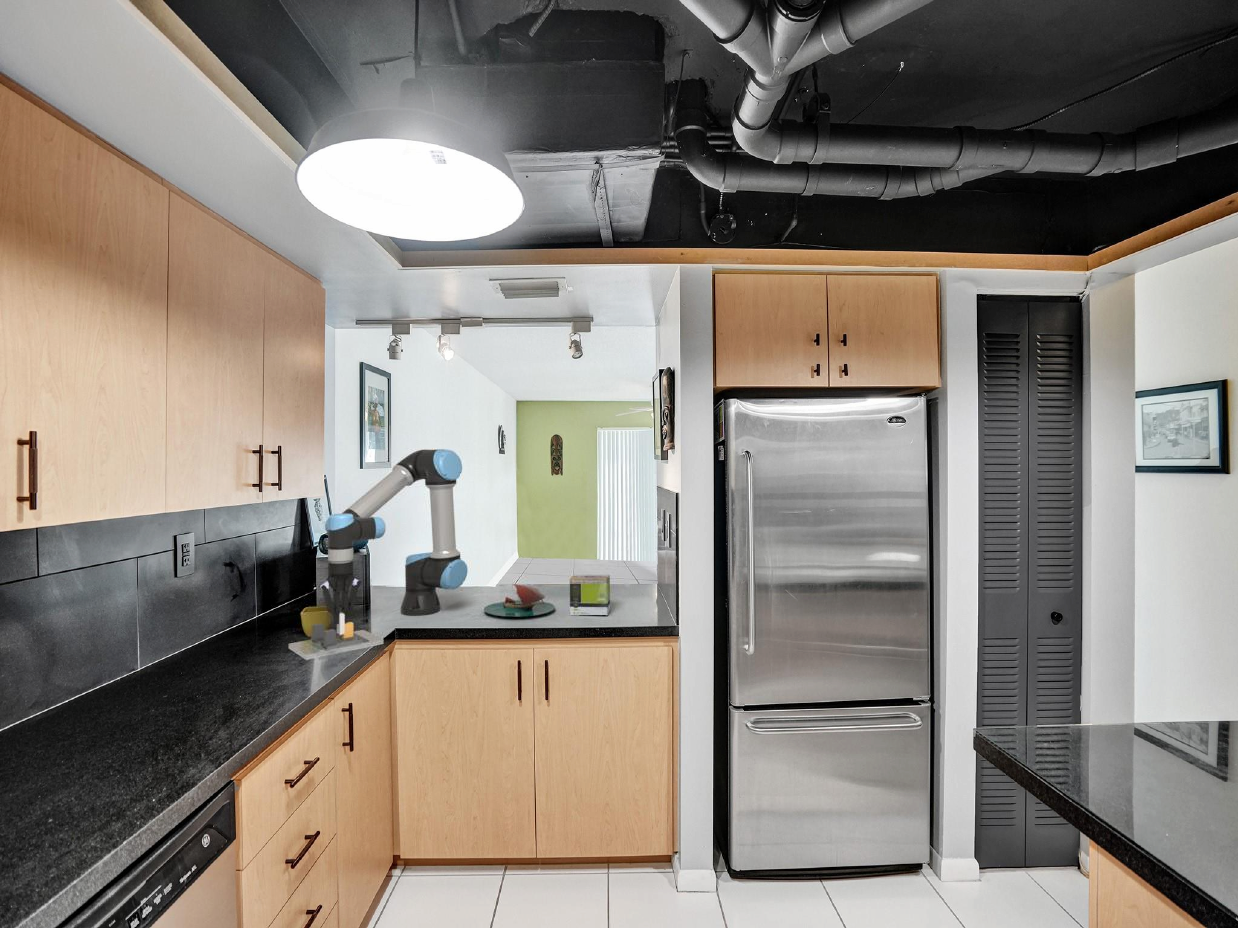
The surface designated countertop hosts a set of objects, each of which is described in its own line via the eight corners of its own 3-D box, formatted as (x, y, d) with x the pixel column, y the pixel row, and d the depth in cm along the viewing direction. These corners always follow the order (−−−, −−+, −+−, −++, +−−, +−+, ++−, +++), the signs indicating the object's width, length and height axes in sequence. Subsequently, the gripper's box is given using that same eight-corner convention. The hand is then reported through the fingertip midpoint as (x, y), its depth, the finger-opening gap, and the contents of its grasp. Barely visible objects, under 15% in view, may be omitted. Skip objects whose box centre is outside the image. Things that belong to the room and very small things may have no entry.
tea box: (610, 610, 254) (610, 574, 254) (607, 617, 244) (607, 578, 244) (573, 609, 255) (573, 573, 255) (569, 615, 245) (569, 578, 245)
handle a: (321, 638, 207) (321, 623, 207) (324, 639, 205) (324, 624, 205) (312, 639, 204) (312, 624, 204) (314, 641, 203) (314, 625, 203)
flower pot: (300, 639, 212) (300, 612, 211) (305, 632, 220) (305, 606, 220) (328, 637, 214) (328, 611, 214) (332, 630, 222) (332, 605, 222)
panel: (363, 633, 218) (363, 626, 218) (383, 643, 207) (383, 636, 207) (288, 648, 201) (288, 640, 201) (305, 659, 190) (305, 651, 190)
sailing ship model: (538, 623, 234) (538, 593, 234) (470, 617, 241) (470, 588, 241) (564, 606, 261) (565, 579, 261) (503, 602, 268) (503, 576, 268)
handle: (333, 644, 199) (333, 628, 199) (335, 646, 198) (335, 630, 198) (323, 646, 197) (323, 630, 197) (325, 647, 196) (325, 632, 196)
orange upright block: (350, 636, 208) (350, 621, 208) (353, 638, 207) (353, 622, 207) (341, 638, 206) (341, 623, 206) (344, 639, 205) (344, 624, 205)
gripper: (356, 557, 212) (356, 627, 212) (315, 562, 203) (315, 634, 203) (365, 560, 207) (365, 631, 207) (324, 564, 198) (324, 639, 198)
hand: (340, 633), depth 205 cm, fingers closed
